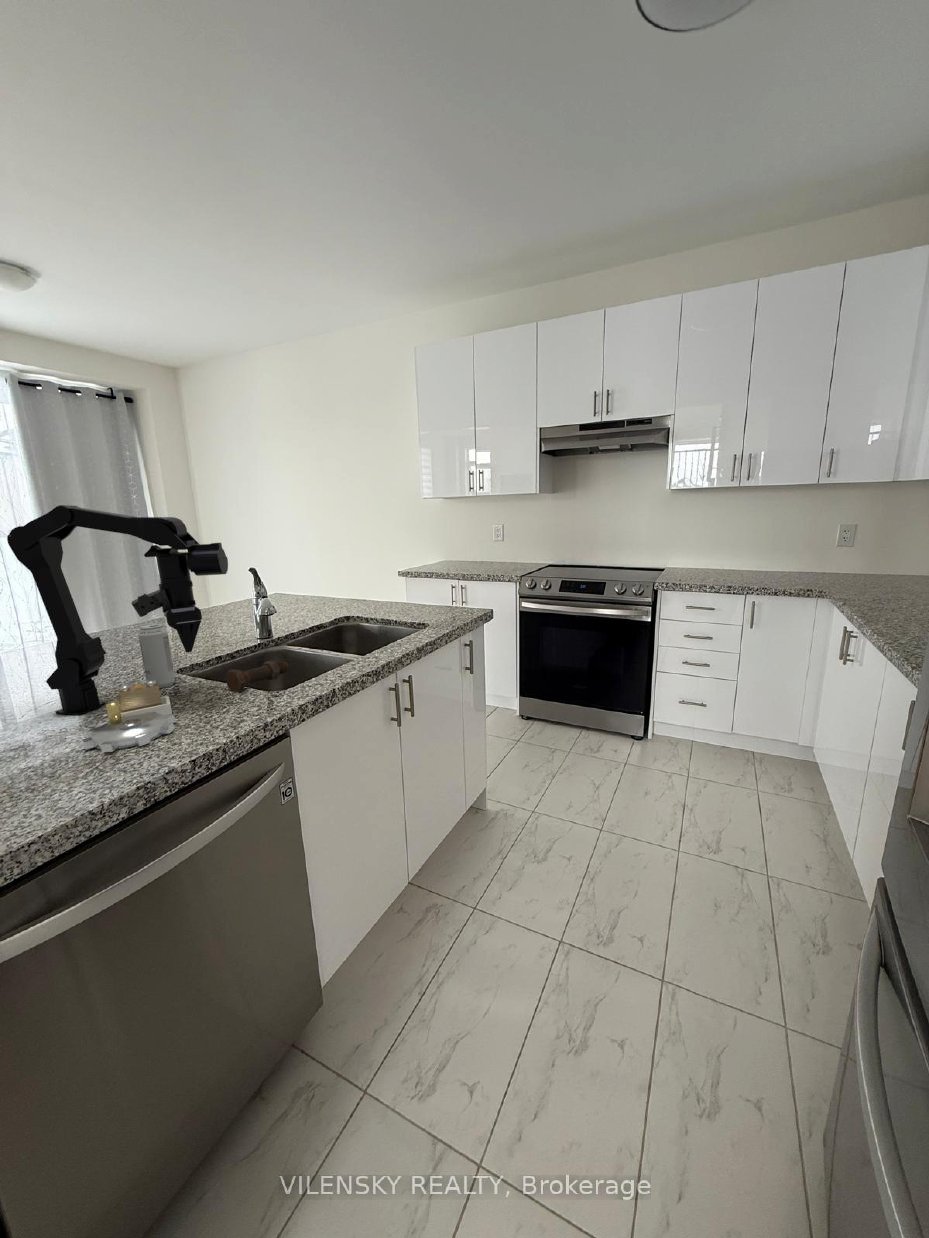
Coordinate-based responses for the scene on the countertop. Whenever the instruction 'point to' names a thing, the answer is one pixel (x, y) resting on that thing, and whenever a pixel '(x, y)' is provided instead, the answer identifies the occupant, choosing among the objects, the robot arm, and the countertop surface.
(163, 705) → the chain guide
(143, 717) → the sprocket
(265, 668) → the bolt
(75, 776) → the countertop surface
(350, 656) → the countertop surface
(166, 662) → the energy drink can
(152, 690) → the link
